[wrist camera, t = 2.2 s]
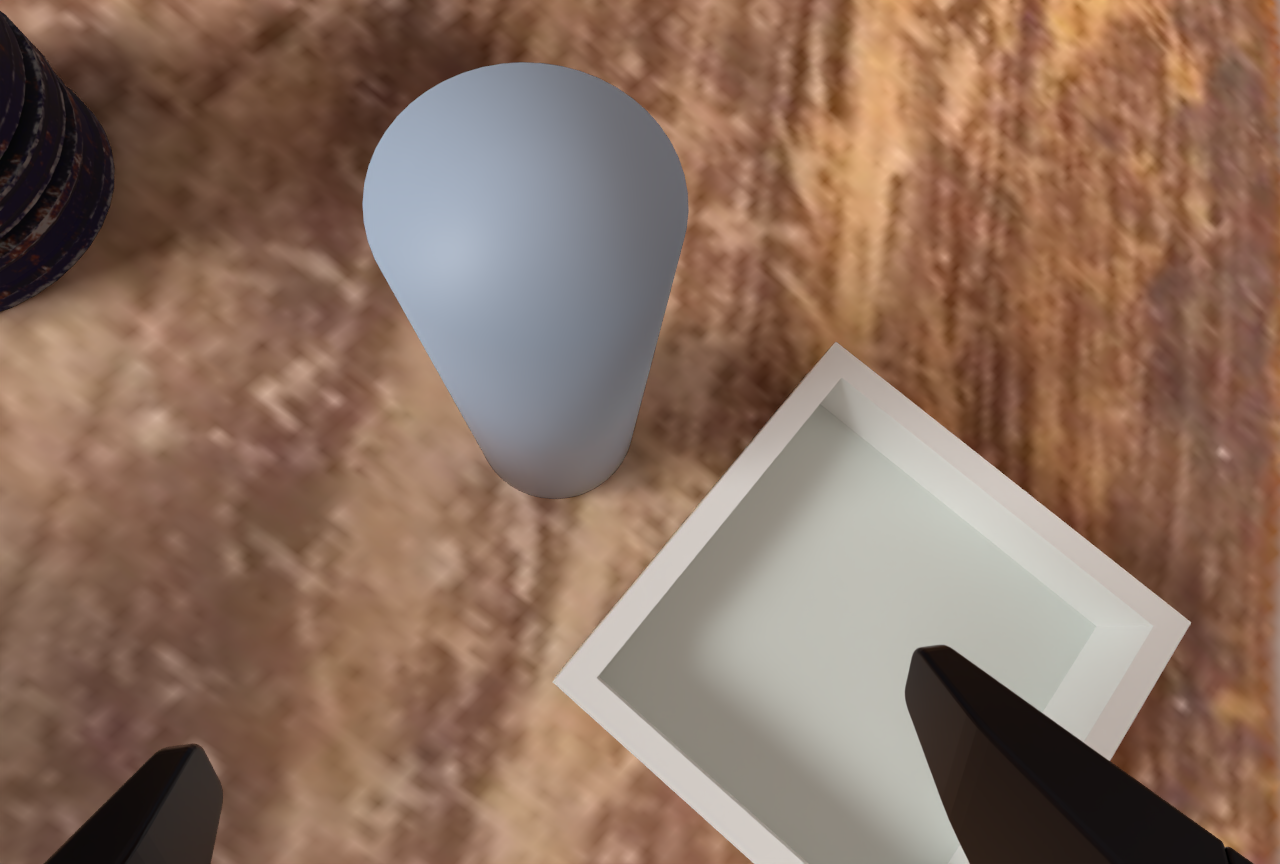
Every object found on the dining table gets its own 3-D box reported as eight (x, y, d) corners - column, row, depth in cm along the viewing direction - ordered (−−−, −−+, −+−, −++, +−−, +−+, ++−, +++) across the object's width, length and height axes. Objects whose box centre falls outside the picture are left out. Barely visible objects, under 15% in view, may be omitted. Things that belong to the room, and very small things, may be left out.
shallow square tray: (1116, 623, 24) (1191, 622, 21) (896, 980, 21) (946, 1037, 18) (806, 374, 25) (835, 341, 22) (556, 675, 22) (552, 682, 19)
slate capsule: (664, 415, 24) (751, 191, 12) (562, 531, 23) (540, 416, 11) (550, 320, 25) (518, 10, 12) (444, 429, 24) (291, 205, 11)
